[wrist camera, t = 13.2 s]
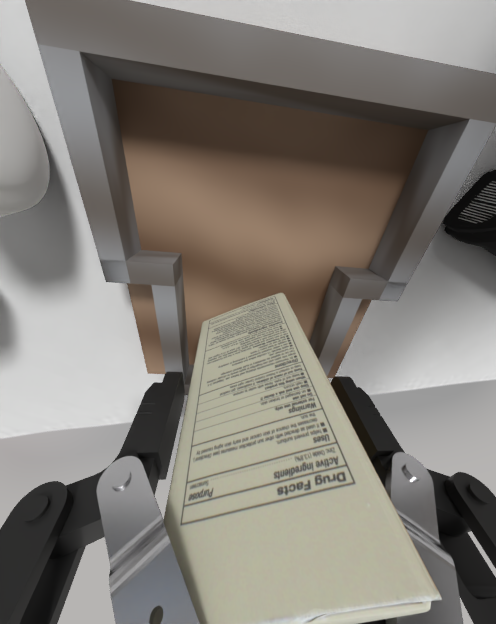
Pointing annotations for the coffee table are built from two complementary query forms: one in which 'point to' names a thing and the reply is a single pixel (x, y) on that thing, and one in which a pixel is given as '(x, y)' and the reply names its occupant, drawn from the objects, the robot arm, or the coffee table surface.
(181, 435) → the skincare box
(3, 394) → the coffee table surface
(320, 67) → the keyhole board
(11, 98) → the headphones
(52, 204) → the coffee table surface
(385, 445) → the robot arm
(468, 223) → the electric trimmer
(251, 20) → the coffee table surface
